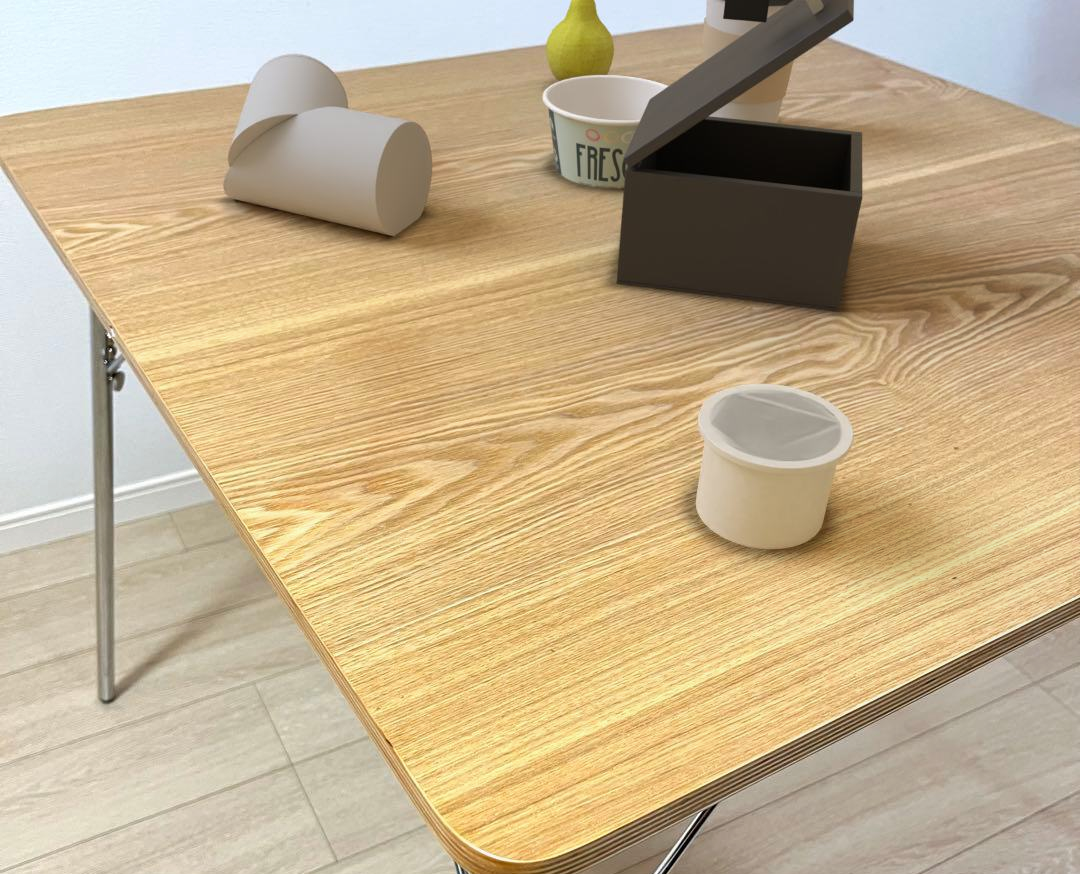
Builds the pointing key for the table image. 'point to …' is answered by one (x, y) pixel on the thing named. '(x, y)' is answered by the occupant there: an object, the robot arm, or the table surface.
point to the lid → (736, 71)
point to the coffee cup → (766, 94)
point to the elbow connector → (325, 152)
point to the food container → (596, 125)
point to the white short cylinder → (768, 463)
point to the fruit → (580, 43)
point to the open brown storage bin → (744, 213)
